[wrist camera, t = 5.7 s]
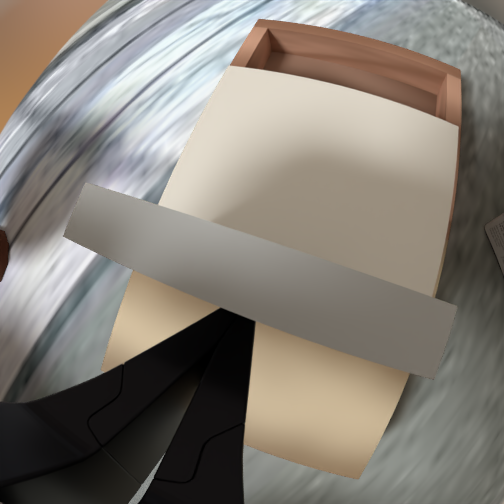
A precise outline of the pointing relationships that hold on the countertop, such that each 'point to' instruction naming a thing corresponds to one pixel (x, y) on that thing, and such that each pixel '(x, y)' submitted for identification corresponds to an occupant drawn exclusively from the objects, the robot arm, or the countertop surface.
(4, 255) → the ice cream bowl
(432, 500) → the countertop surface
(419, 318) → the white l-shaped piece
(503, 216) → the coffee box
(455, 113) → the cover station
